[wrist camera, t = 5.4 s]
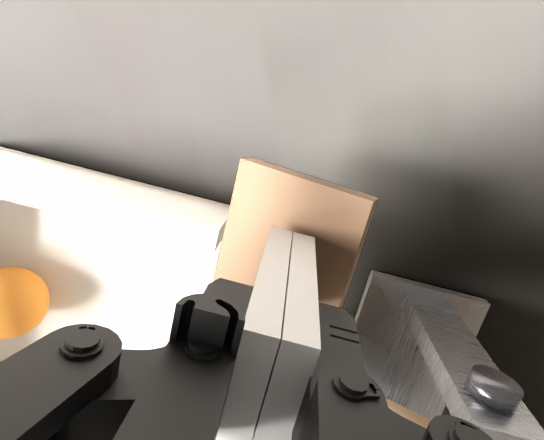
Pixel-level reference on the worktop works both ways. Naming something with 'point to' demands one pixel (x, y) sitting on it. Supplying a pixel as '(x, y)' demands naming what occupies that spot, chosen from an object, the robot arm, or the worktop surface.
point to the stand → (438, 356)
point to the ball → (21, 301)
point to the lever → (298, 230)
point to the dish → (105, 247)
